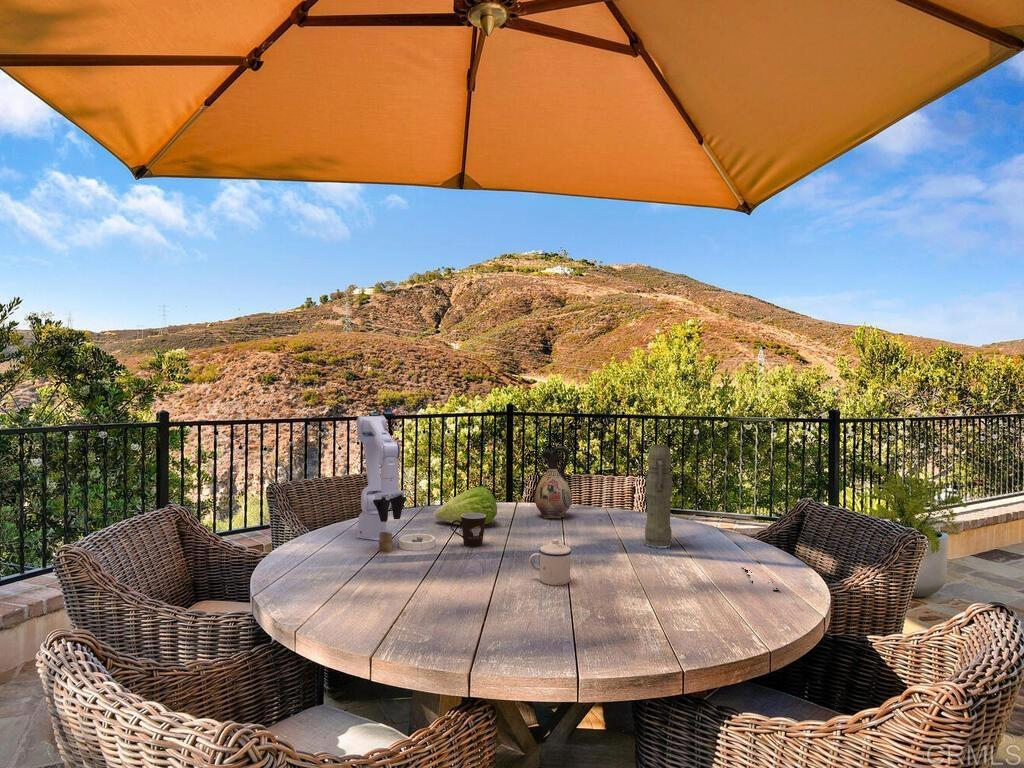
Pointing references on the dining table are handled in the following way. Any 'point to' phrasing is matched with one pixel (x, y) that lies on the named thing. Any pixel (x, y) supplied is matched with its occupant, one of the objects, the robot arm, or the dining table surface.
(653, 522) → the carved stone statue
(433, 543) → the white shallow dish
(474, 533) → the coffee mug
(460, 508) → the chayote
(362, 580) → the dining table surface
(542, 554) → the teacup with lid
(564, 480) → the ceramic jug
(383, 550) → the brown wooden block
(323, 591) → the dining table surface
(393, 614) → the dining table surface
